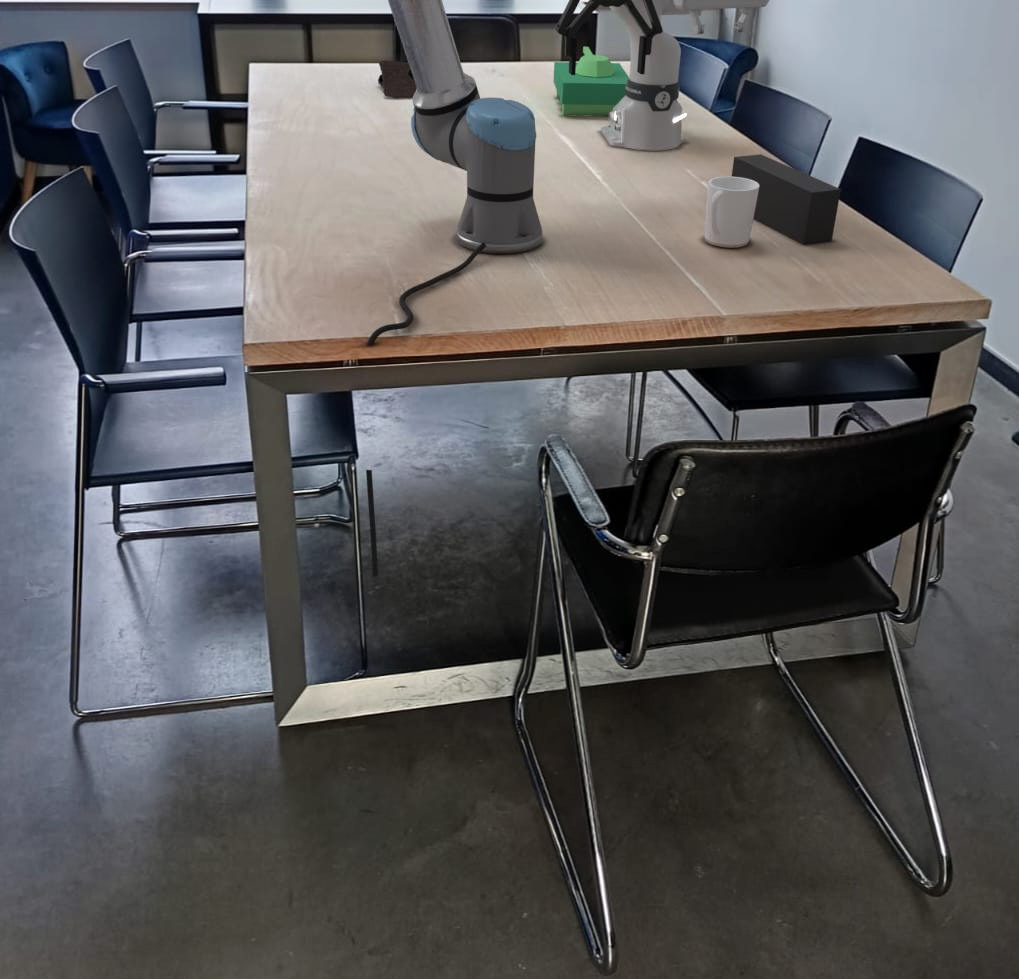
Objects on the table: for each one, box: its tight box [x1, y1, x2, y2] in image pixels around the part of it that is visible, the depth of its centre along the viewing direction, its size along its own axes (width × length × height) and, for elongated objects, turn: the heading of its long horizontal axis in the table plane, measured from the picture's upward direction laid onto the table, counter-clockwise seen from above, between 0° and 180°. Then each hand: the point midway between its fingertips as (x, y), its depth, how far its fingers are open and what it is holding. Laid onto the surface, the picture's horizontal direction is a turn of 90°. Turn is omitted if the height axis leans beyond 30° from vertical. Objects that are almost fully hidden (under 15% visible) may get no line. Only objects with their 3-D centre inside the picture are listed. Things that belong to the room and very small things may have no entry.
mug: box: [703, 176, 759, 249], centre depth 194 cm, size 11×9×10 cm
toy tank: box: [553, 46, 630, 117], centre depth 288 cm, size 18×12×35 cm
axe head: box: [377, 59, 417, 99], centre depth 299 cm, size 18×8×15 cm
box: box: [731, 153, 842, 246], centre depth 206 cm, size 25×6×10 cm, turn 23°
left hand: (606, 73), depth 211 cm, fingers open, 13 cm apart
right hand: (718, 32), depth 218 cm, fingers open, 8 cm apart
